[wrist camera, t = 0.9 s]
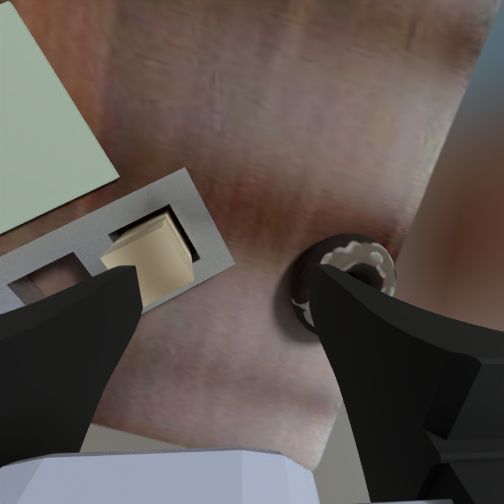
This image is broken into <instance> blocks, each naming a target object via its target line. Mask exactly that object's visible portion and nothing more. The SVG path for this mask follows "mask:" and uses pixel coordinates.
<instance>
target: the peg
mask: <svg viewBox="0 0 504 504" xmlns="http://www.w3.org/2000/svg"><path fill="white" fill-rule="evenodd" d="M100 259H101V260H102V262H103V263H104V265H105V266H106V267H107V269H108V270H109V269H111V268H114V267H117V266H120V265H136V270H137V276H138V281H139V287H140V293H141V298H142V304H143V308H144V307H145V306H147V305H149V304H151V303H153V302H155V301H157V300H159V299H160V298H162V297H164V296H166V295H168V294H170V293H172V292H174V291H175V290H177V289H179V288H181V287H183V286H185V285H187V284H189V283H190V282H192V281H194V273H193V266H192V258H191V251H190V247H189V246H188V244H187V242H186V240H185V239H184V237H183V235H182V234H181V232H180V230H179V228H178V227H177V225H176V223H175V222H174V220H173V218H172V216H171V215H170V213H169V211H168V210H167V211H165V212H163V213H161V214H159V215H157V216H155V217H153V218H151V219H149V220H147V221H145V222H143V223H141V224H139V225H137V226H135V227H133V228H131V229H129V230H127V231H125V232H124V233H123V234H122V235H121V237H120V238H119V239H118V240H117V241H116V242H115V243H114V244H113V245H112V246H111V247H110V248H109V249H108V250H107V251H106V252H105V253H104V254H103V256H102V257H101V258H100Z"/></svg>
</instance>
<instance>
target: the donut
mask: <svg viewBox="0 0 504 504" xmlns="http://www.w3.org/2000/svg"><path fill="white" fill-rule="evenodd" d="M314 264H330V265H332V266H334V267H336V268H338V269H340V270H342V271H344V272H346V273H349V272H352V273H354V274H355V277H356V279H358V280H360V281H362V282H364V283H365V284H367V285H369V286H371V287H373V288H375V289H377V290H379V291H381V292H383V293H385V294H387V295H389V296H392V297H393V296H394V292H395V286H396V272H395V267H394V262H393V261H392V259H391V257H390V256H389V254H388V252H387V250H386V249H385V248H384V247H383V246H382V245H380V244H379V243H378V242H377V241H376V240H374V239H372V238H370V237H367V236H364V235H361V234H356V233H350V234H338V235H335V236H332V237H329V238H326V239H324V240H323V241H321V242H320V243H318V244H317V245H315V246H314V247H312V248H311V249H310V250H309V251H308V252H307V253H306V255H305V256H304V257H303V258H302V259H301V261H300V263H299V265H298V266H297V268H296V270H295V272H294V276H293V280H292V285H291V303H292V306H293V308H294V311H295V313H296V316H297V318H298V319H299V321H300V322H301V323H302V324H303V325H304V326H305V328H306V329H308V330H309V331H311V332H312V333H314V334H316V335H318V334H317V332H316V330H315V327H314V324H313V320H312V317H311V313H310V309H309V299H310V291H311V282H312V273H313V265H314Z"/></svg>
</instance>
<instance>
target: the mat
mask: <svg viewBox="0 0 504 504" xmlns="http://www.w3.org/2000/svg"><path fill="white" fill-rule="evenodd" d="M117 178H120V176H119V175H118V173H117V172H116V170H115V168H114V167H113V165H112V164H111V162H110V160H109V159H108V157H107V156H106V154H105V152H104V151H103V149H102V148H101V146H100V144H99V143H98V141H97V139H96V138H95V136H94V135H93V133H92V131H91V130H90V128H89V127H88V125H87V123H86V122H85V120H84V119H83V117H82V115H81V114H80V112H79V110H78V109H77V107H76V106H75V104H74V102H73V101H72V99H71V98H70V96H69V94H68V93H67V91H66V90H65V88H64V86H63V85H62V83H61V82H60V80H59V78H58V77H57V75H56V73H55V72H54V70H53V69H52V67H51V65H50V64H49V62H48V61H47V59H46V57H45V56H44V54H43V53H42V51H41V49H40V48H39V46H38V45H37V43H36V41H35V40H34V38H33V36H32V35H31V33H30V32H29V30H28V28H27V27H26V25H25V24H24V22H23V20H22V19H21V17H20V16H19V14H18V12H17V11H16V9H15V8H14V6H13V5H12V4H11V3H10V2H9V1H8V2H5V3H3V4H0V234H2V233H4V232H6V231H8V230H10V229H12V228H15V227H17V226H19V225H21V224H23V223H25V222H27V221H29V220H31V219H33V218H36V217H38V216H40V215H42V214H44V213H46V212H48V211H50V210H52V209H54V208H57V207H59V206H61V205H63V204H65V203H67V202H69V201H71V200H73V199H75V198H78V197H80V196H82V195H84V194H86V193H88V192H90V191H92V190H94V189H96V188H99V187H101V186H103V185H105V184H107V183H109V182H111V181H113V180H115V179H117Z"/></svg>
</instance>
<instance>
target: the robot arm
mask: <svg viewBox="0 0 504 504" xmlns="http://www.w3.org/2000/svg"><path fill="white" fill-rule="evenodd" d="M309 309H310V313H311V317H312V320H313V324H314V327H315V330H316V332H317V334H318V337H319V339H320V342H321V344H322V346H323V348H324V351H325V353H326V355H327V358H328V360H329V362H330V365H331V367H332V369H333V372H334V374H335V377H336V379H337V382H338V385H339V388H340V391H341V394H342V398H343V401H344V404H345V407H346V411H347V414H348V418H349V421H350V424H351V428H352V431H353V435H354V439H355V442H356V446H357V449H358V453H359V457H360V461H361V465H362V469H363V472H364V476H365V480H366V485H367V489H368V493H369V497H370V501H371V503H359V504H504V332H502V331H498V330H493V329H489V328H485V327H481V326H477V325H473V324H469V323H466V322H462V321H459V320H455V319H452V318H448V317H445V316H442V315H439V314H436V313H433V312H429V311H427V310H424V309H421V308H418V307H416V306H413V305H411V304H408V303H406V302H403V301H401V300H398V299H396V298H394V297H392V296H389V295H387V294H385V293H383V292H381V291H379V290H377V289H375V288H373V287H371V286H369V285H367V284H365V283H364V282H362V281H360V280H358V279H356V278H355V277H353V276H351V275H349V274H347V273H346V272H344V271H342V270H340V269H338V268H336V267H334V266H332V265H330V264H314V265H313V273H312V282H311V291H310V299H309ZM142 311H143V304H142V298H141V293H140V287H139V281H138V276H137V270H136V265H120V266H117V267H114V268H111V269H109V270H106V271H104V272H102V273H100V274H98V275H95V276H93V277H91V278H89V279H87V280H85V281H83V282H80V283H78V284H76V285H74V286H72V287H70V288H67V289H65V290H63V291H60V292H58V293H56V294H53V295H51V296H49V297H46V298H44V299H42V300H39V301H37V302H34V303H31V304H29V305H26V306H23V307H20V308H17V309H15V310H12V311H9V312H6V313H3V314H0V504H320V500H319V496H318V492H317V489H316V485H315V481H314V478H313V474H312V472H310V471H309V470H308V469H306V468H305V467H303V466H302V465H300V464H299V463H297V462H295V461H294V460H292V459H290V458H289V457H287V456H286V455H284V454H282V453H281V452H279V451H274V450H266V449H258V448H250V447H243V446H238V447H213V448H187V449H163V450H135V451H109V452H85V453H79V452H80V449H81V446H82V444H83V441H84V438H85V436H86V433H87V430H88V428H89V425H90V423H91V420H92V417H93V415H94V413H95V410H96V408H97V405H98V403H99V400H100V398H101V396H102V393H103V391H104V389H105V387H106V385H107V383H108V381H109V378H110V377H111V375H112V373H113V371H114V369H115V367H116V366H117V364H118V362H119V360H120V358H121V356H122V354H123V353H124V351H125V349H126V347H127V345H128V343H129V341H130V340H131V338H132V336H133V334H134V332H135V330H136V327H137V325H138V322H139V319H140V316H141V314H142Z"/></svg>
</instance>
